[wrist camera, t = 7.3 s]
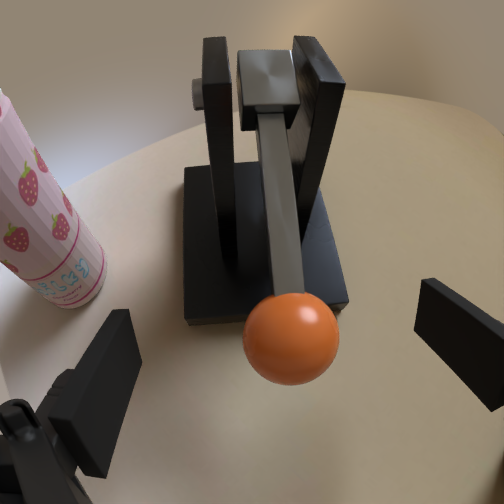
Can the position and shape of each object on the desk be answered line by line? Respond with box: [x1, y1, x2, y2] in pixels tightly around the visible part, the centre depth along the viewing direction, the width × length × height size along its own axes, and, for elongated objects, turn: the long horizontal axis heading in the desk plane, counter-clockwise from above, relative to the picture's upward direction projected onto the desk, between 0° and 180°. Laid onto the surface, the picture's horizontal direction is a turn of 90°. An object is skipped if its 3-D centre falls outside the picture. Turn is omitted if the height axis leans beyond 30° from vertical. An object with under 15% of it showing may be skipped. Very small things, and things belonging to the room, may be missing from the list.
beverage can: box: [0, 88, 107, 309], centre depth 14 cm, size 6×6×15 cm
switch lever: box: [236, 50, 339, 386], centre depth 12 cm, size 13×4×4 cm, turn 6°
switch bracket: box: [183, 36, 349, 326], centre depth 17 cm, size 12×10×14 cm
